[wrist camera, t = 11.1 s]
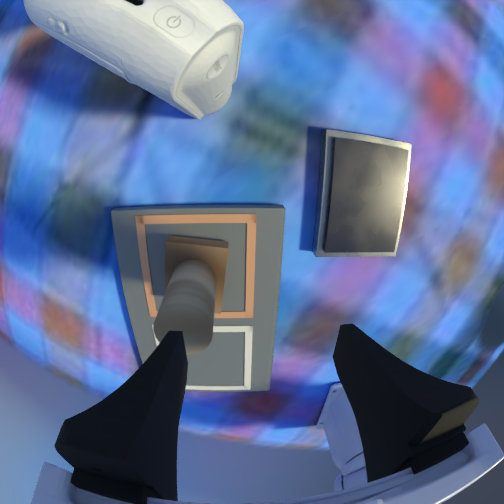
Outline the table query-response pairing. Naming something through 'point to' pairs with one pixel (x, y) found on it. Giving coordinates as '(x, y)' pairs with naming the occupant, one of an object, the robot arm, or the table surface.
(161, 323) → the stamp
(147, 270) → the board
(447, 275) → the table surface
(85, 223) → the table surface
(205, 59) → the photo printer
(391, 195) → the ink pad
